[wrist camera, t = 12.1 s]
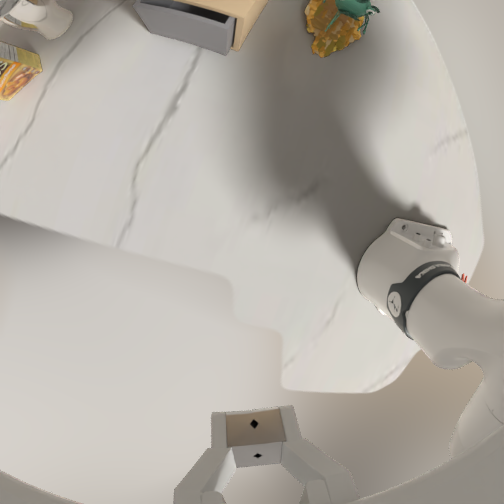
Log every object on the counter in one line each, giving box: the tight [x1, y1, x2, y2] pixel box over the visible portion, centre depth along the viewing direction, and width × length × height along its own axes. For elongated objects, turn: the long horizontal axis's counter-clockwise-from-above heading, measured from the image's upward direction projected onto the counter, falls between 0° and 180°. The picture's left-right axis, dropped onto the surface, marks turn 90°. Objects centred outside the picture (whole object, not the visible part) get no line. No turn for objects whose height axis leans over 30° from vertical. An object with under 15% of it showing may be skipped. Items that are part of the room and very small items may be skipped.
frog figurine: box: [304, 0, 380, 58], centre depth 26 cm, size 10×18×15 cm, turn 158°
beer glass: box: [0, 0, 73, 40], centre depth 19 cm, size 7×7×15 cm
